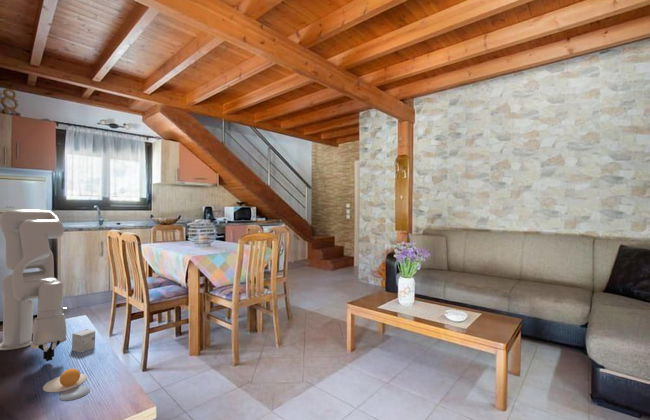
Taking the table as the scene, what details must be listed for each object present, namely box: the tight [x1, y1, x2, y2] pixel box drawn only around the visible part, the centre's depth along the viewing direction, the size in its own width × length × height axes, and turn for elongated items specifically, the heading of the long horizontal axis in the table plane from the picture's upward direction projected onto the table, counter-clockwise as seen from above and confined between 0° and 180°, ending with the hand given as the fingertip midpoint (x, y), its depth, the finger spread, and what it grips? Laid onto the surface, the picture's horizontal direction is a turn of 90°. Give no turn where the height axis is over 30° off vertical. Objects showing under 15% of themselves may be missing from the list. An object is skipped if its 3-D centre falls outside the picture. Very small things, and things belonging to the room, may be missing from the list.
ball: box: [59, 368, 81, 387], centre depth 111 cm, size 6×6×6 cm
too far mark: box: [59, 386, 91, 402], centre depth 107 cm, size 8×8×1 cm
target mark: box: [42, 373, 88, 393], centre depth 113 cm, size 12×12×1 cm
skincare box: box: [71, 328, 96, 353], centre depth 140 cm, size 6×6×7 cm
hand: (48, 359), depth 126 cm, fingers closed
